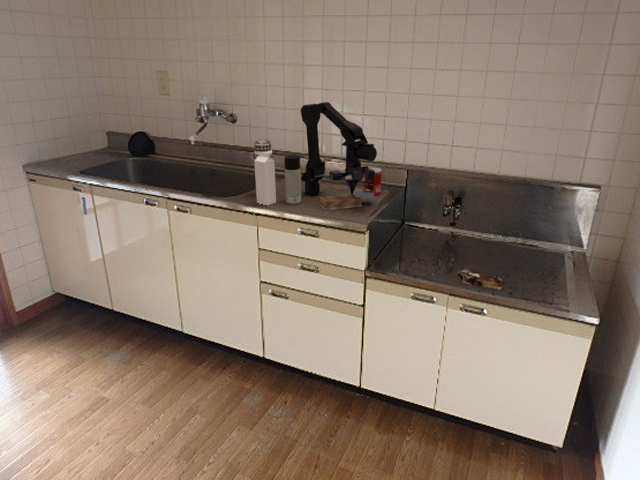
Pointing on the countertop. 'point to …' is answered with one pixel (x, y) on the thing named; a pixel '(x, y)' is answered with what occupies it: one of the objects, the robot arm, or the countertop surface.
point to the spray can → (292, 179)
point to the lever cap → (363, 193)
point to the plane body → (339, 202)
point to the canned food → (374, 181)
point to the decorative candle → (262, 148)
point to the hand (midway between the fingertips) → (351, 194)
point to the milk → (265, 179)
